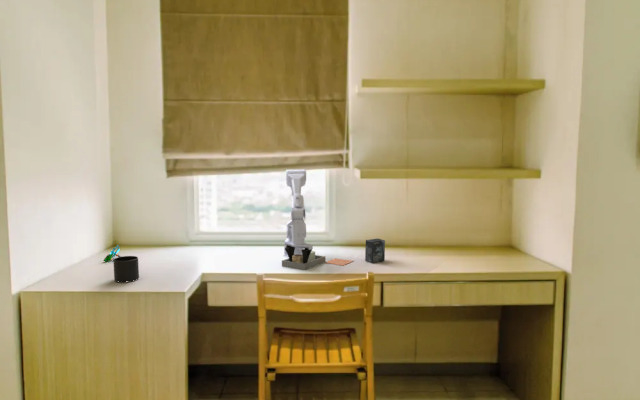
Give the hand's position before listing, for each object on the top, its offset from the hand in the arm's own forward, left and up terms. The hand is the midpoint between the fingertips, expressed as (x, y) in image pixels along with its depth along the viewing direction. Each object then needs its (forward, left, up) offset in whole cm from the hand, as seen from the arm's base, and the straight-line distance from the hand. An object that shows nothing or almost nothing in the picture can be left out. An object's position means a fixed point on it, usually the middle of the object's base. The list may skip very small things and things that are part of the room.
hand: (298, 263), depth 210 cm
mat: (+12, +17, -2) cm, 20 cm away
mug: (-49, -54, -2) cm, 73 cm away
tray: (0, +5, -2) cm, 5 cm away
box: (+25, +29, -2) cm, 38 cm away
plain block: (0, +9, -1) cm, 9 cm away
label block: (0, 0, -1) cm, 1 cm away
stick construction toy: (-84, -38, -2) cm, 92 cm away
